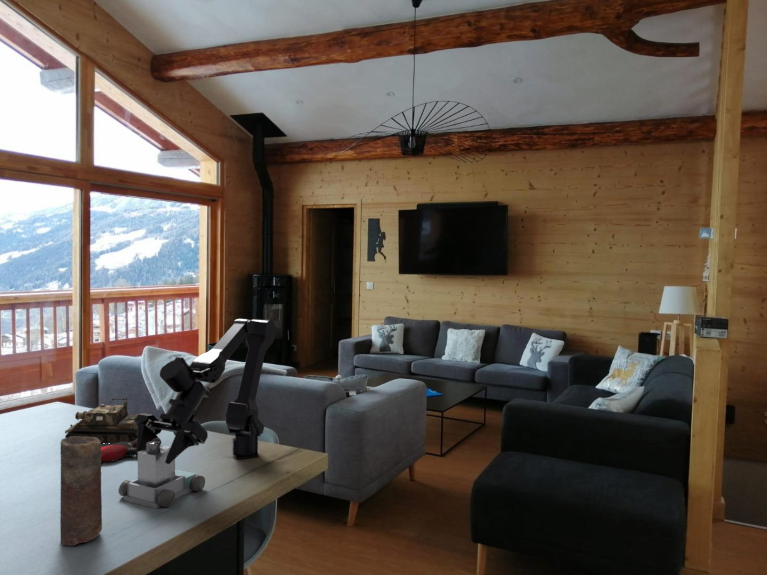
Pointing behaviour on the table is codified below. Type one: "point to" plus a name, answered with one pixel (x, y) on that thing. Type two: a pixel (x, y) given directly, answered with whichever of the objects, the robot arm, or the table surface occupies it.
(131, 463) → the table surface
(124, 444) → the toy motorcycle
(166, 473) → the block
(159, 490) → the chassis
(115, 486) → the table surface
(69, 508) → the candle
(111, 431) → the model tank
